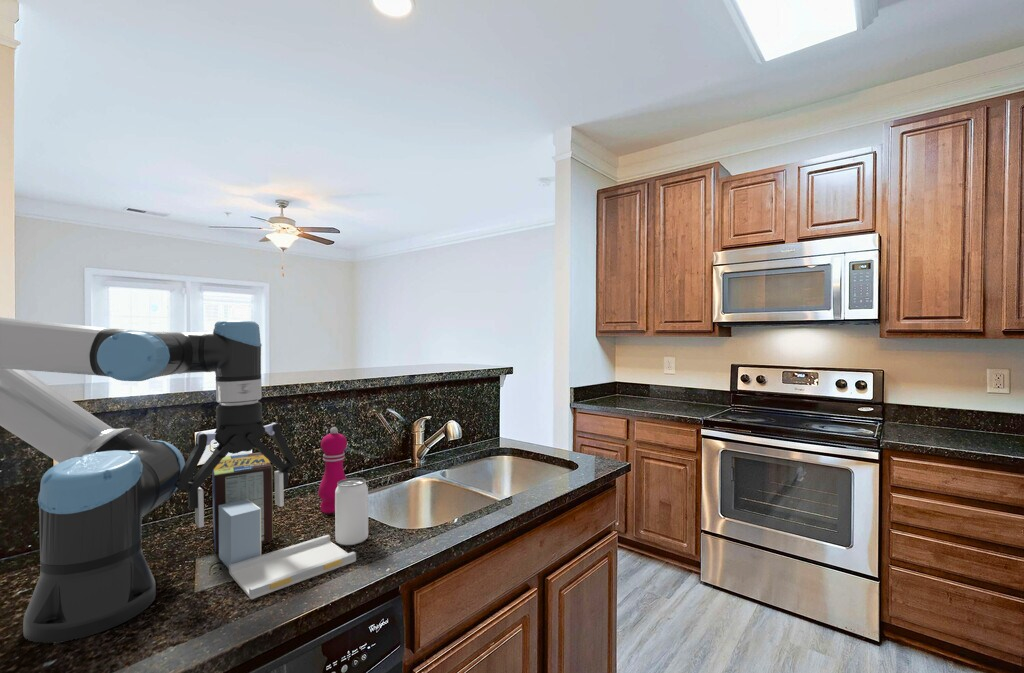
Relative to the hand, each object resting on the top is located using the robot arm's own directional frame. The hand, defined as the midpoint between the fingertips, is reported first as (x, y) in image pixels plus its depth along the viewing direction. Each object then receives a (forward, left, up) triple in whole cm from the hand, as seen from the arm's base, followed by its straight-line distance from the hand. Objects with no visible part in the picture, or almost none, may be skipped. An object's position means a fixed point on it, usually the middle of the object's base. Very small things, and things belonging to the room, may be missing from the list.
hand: (241, 514), depth 90 cm
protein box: (+4, +13, -9) cm, 16 cm away
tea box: (0, 0, -9) cm, 9 cm away
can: (+19, -7, -9) cm, 22 cm away
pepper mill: (+24, +13, -9) cm, 29 cm away
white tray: (+6, -10, -9) cm, 15 cm away
